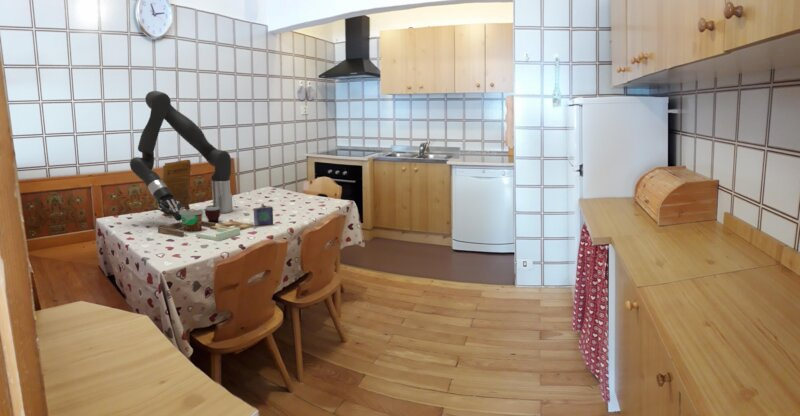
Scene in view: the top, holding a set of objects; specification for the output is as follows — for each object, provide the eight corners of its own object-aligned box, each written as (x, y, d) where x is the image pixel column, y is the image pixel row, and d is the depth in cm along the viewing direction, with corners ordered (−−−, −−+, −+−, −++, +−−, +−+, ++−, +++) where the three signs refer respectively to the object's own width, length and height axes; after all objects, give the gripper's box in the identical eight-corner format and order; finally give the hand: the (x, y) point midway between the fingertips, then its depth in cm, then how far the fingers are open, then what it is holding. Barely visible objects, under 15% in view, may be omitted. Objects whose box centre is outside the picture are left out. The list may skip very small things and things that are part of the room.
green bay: (218, 230, 239) (218, 224, 238) (240, 234, 233) (239, 227, 233) (196, 236, 228) (195, 230, 227) (218, 240, 222) (217, 234, 221)
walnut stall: (192, 223, 251) (192, 219, 251) (215, 227, 244) (215, 223, 244) (158, 232, 234) (157, 227, 234) (181, 236, 227) (181, 232, 227)
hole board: (232, 222, 254) (232, 220, 254) (253, 226, 248) (253, 224, 248) (210, 228, 242) (210, 226, 242) (232, 232, 236) (232, 230, 236)
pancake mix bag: (197, 211, 279) (194, 159, 273) (167, 217, 263) (163, 163, 257) (189, 209, 282) (186, 158, 277) (158, 216, 266) (154, 162, 260)
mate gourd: (202, 222, 253) (200, 192, 250) (213, 219, 261) (212, 190, 258) (214, 224, 251) (213, 194, 248) (225, 221, 258) (224, 191, 255)
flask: (255, 226, 248) (254, 204, 245) (253, 225, 250) (252, 203, 248) (273, 224, 252) (273, 203, 250) (272, 223, 255) (271, 202, 252)
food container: (174, 229, 239) (172, 208, 237) (185, 227, 244) (183, 206, 242) (192, 233, 233) (191, 212, 231) (203, 230, 239) (202, 209, 237)
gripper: (151, 188, 236) (171, 217, 233) (175, 184, 247) (195, 212, 244) (144, 198, 239) (164, 227, 236) (168, 194, 251) (187, 221, 248)
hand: (179, 219), depth 240 cm, fingers closed
